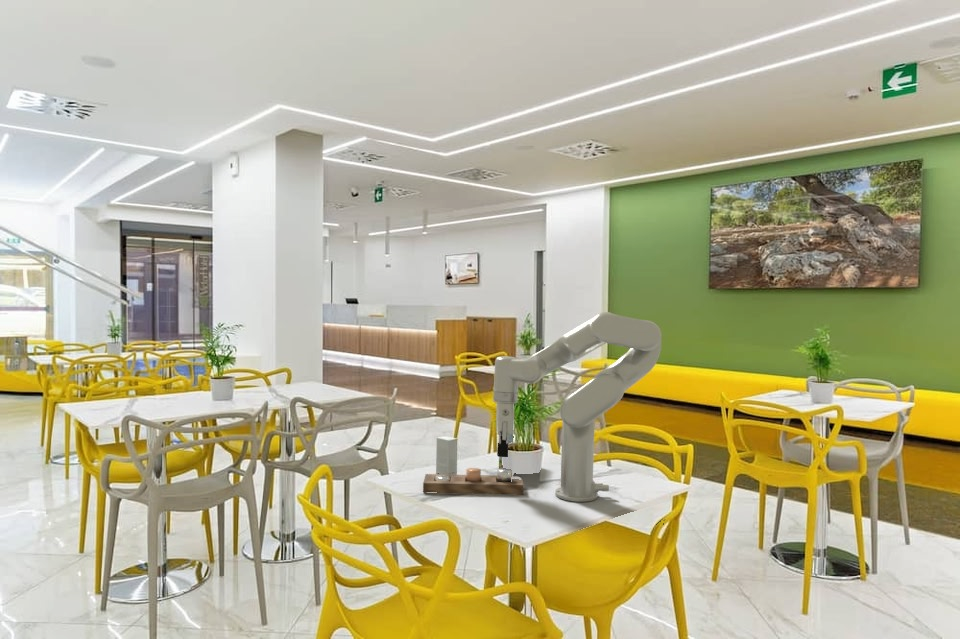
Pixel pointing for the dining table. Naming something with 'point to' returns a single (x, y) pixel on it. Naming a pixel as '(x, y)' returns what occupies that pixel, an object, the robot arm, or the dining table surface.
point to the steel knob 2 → (504, 475)
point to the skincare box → (446, 455)
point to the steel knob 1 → (442, 478)
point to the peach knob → (473, 475)
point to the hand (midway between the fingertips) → (502, 456)
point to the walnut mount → (472, 485)
